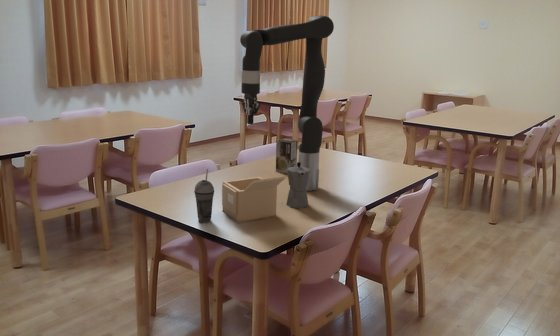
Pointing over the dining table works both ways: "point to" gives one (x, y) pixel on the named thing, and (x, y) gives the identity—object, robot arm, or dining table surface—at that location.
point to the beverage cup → (204, 200)
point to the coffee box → (285, 154)
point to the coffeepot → (297, 186)
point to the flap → (264, 184)
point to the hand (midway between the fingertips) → (250, 123)
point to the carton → (248, 200)
